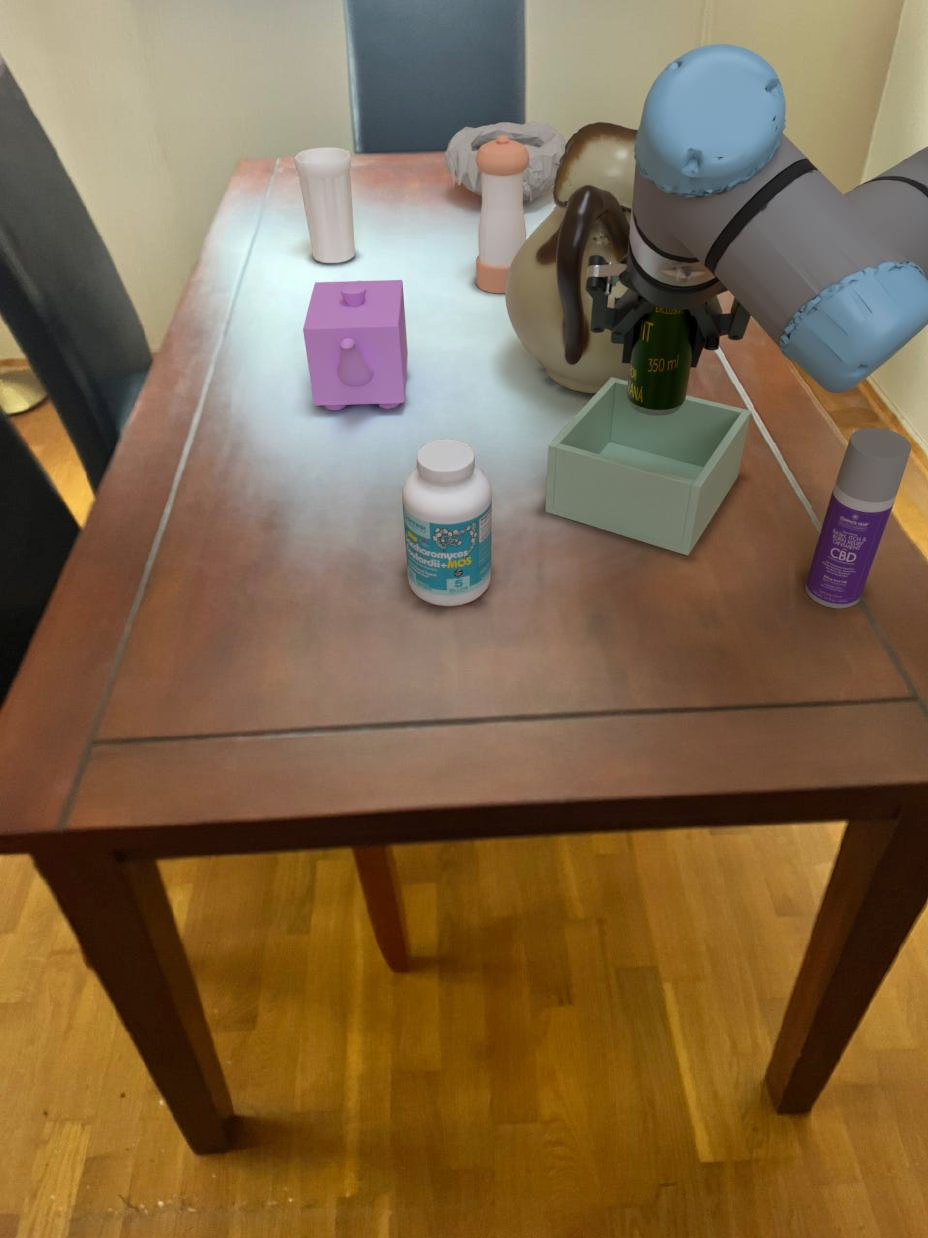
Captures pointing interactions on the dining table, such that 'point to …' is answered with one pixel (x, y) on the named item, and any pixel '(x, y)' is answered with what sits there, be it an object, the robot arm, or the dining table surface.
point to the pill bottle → (447, 524)
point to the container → (857, 516)
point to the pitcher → (576, 260)
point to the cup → (327, 202)
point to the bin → (646, 467)
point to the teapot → (357, 343)
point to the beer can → (661, 361)
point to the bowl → (535, 137)
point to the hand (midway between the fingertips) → (660, 350)
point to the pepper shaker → (500, 210)
